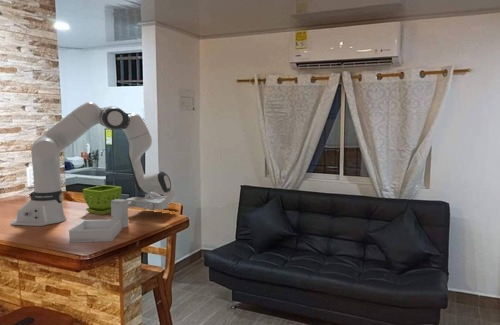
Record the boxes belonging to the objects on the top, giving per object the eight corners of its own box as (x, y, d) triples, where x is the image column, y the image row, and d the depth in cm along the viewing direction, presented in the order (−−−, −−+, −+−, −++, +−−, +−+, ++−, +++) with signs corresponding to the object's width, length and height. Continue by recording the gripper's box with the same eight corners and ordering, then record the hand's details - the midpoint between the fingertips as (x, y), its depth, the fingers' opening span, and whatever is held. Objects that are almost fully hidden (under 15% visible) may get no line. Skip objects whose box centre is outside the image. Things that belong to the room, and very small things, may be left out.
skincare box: (111, 227, 176) (110, 200, 174) (117, 224, 179) (116, 198, 178) (122, 228, 173) (121, 201, 172) (128, 226, 177) (128, 199, 176)
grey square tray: (69, 241, 154) (69, 230, 154) (83, 230, 170) (83, 220, 170) (111, 241, 156) (111, 229, 155) (121, 229, 172) (121, 219, 171)
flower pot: (105, 208, 212) (104, 184, 211) (123, 211, 205) (122, 187, 204) (82, 213, 200) (81, 188, 199) (101, 217, 193) (100, 191, 192)
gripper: (135, 193, 203) (117, 198, 190) (170, 196, 196) (154, 201, 183) (135, 205, 204) (118, 211, 191) (170, 208, 196) (154, 215, 184)
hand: (136, 206), depth 187 cm, fingers open, 8 cm apart
